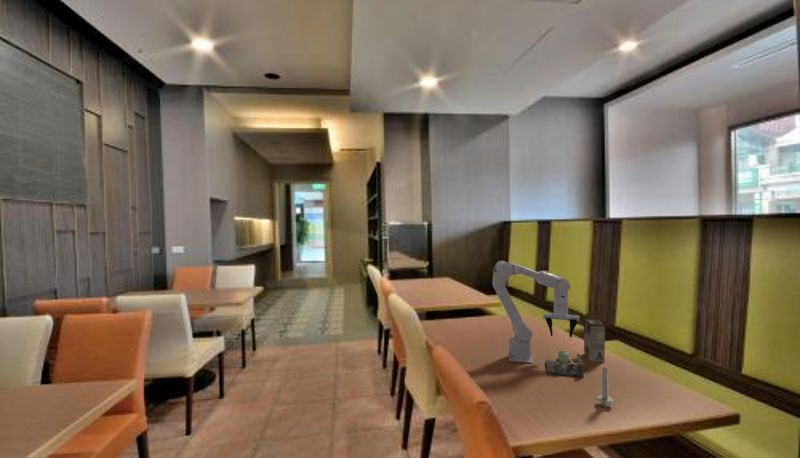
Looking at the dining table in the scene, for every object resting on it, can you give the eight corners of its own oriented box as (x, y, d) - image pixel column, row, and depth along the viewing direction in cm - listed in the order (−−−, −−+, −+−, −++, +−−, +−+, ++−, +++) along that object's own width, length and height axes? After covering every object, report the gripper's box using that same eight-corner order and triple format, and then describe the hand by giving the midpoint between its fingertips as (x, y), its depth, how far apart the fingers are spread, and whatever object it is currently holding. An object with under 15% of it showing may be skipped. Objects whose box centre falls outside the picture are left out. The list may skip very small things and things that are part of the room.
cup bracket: (547, 373, 149) (547, 361, 149) (545, 362, 161) (545, 350, 161) (583, 377, 145) (583, 364, 145) (579, 365, 157) (579, 353, 156)
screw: (597, 407, 123) (596, 400, 127) (614, 410, 121) (612, 403, 126) (597, 368, 122) (596, 362, 127) (614, 370, 121) (612, 364, 125)
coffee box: (583, 353, 170) (583, 318, 169) (598, 354, 169) (598, 319, 168) (589, 361, 161) (589, 324, 160) (605, 362, 160) (605, 325, 159)
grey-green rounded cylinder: (558, 368, 152) (558, 353, 151) (558, 364, 155) (558, 350, 155) (569, 370, 150) (569, 355, 150) (569, 366, 154) (569, 351, 154)
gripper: (543, 306, 161) (543, 337, 161) (580, 308, 157) (580, 340, 157) (542, 302, 168) (542, 332, 168) (578, 304, 163) (578, 335, 164)
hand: (560, 336), depth 163 cm, fingers open, 7 cm apart
